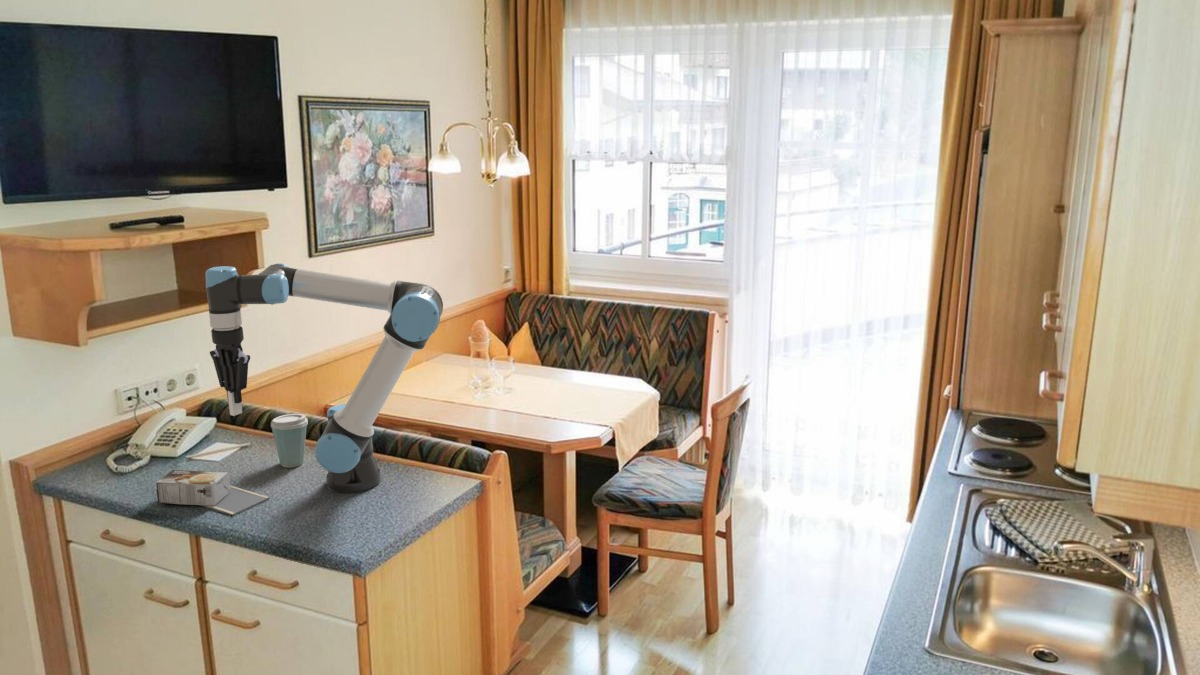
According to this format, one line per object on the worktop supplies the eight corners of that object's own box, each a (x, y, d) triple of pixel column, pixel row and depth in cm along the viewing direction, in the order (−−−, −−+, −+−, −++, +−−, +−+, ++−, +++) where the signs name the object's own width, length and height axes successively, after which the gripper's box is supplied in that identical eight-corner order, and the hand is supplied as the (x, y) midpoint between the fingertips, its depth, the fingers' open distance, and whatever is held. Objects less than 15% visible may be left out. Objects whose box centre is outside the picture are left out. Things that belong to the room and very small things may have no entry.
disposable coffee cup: (266, 465, 272) (261, 418, 268) (295, 454, 280) (291, 408, 277) (290, 473, 266) (286, 425, 262) (319, 461, 275) (315, 414, 271)
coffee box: (231, 493, 252) (175, 490, 253) (229, 471, 251) (173, 469, 252) (214, 506, 243) (157, 503, 244) (212, 484, 242) (155, 481, 243)
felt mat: (269, 499, 249) (269, 497, 249) (232, 516, 239) (232, 514, 239) (207, 480, 261) (206, 478, 261) (169, 495, 251) (169, 493, 251)
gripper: (256, 327, 232) (264, 413, 238) (222, 321, 238) (231, 405, 244) (231, 333, 226) (241, 422, 232) (197, 327, 232) (207, 413, 238)
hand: (236, 413), depth 238 cm, fingers closed
